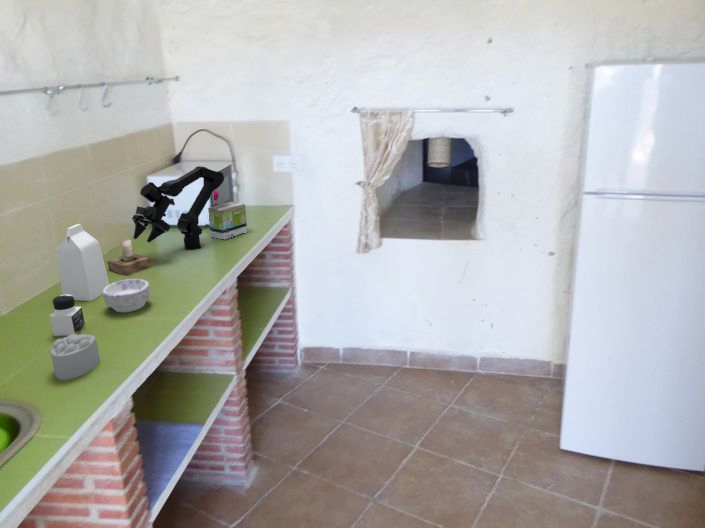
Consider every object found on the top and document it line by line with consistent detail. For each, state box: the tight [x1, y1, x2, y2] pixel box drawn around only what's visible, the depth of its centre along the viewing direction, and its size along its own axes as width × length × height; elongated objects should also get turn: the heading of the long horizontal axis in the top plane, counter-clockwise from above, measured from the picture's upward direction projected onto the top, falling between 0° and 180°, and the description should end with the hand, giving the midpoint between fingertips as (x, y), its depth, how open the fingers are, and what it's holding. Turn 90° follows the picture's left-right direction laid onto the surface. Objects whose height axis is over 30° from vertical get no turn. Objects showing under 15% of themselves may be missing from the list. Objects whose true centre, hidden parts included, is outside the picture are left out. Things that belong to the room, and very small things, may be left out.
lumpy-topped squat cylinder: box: [50, 333, 101, 381], centre depth 168 cm, size 10×13×9 cm
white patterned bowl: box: [102, 278, 152, 313], centre depth 208 cm, size 15×15×8 cm
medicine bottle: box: [49, 294, 86, 337], centre depth 191 cm, size 7×7×12 cm
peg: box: [120, 239, 134, 263], centre depth 246 cm, size 4×4×12 cm
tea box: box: [207, 201, 248, 241], centre depth 287 cm, size 15×10×15 cm
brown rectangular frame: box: [107, 252, 152, 276], centre depth 248 cm, size 12×12×4 cm
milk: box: [55, 223, 110, 302], centre depth 219 cm, size 12×12×26 cm
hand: (141, 240), depth 250 cm, fingers open, 9 cm apart
